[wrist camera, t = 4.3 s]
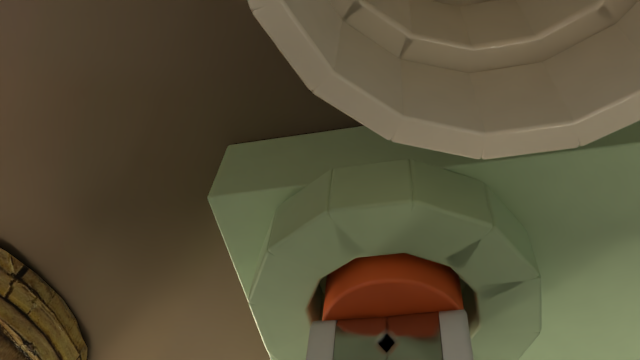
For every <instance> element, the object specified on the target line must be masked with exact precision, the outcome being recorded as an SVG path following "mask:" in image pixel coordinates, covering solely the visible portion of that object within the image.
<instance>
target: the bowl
mask: <svg viewBox="0 0 640 360" xmlns="http://www.w3.org/2000/svg"><path fill="white" fill-rule="evenodd" d="M247 1H248V5H249V8H250V9H251V10H253V11H252V13H253V16H254V17H255V18H256V20H257V21H258V22H259V24H260V25H261V26H262V28H263V29H264V30H265V32H266V33H267V34H268V36H269V37H270V38H271V40H272V41H273V42H274V44H275V45H276V46H277V48H278V49H279V50H280V52H281V53H282V54H283V56H284V57H285V58H286V60H287V61H288V62H289V64H290V65H291V66H292V68H293V69H294V70H295V72H296V73H297V74H298V76H299V77H300V78H301V80H302V81H303V82H304V84H305V85H306V86H307V88H308V89H309V90H310V91H312V92H313V94H314V95H316V96H318V97H319V98H321V99H322V100H324V101H326V102H327V103H329V104H330V105H332V106H334V107H335V108H337V109H338V110H340V111H342V112H343V113H345V114H346V115H348V116H350V117H351V118H353V119H355V120H356V121H358V122H359V123H361V124H363V125H364V126H366V127H367V128H369V129H371V130H372V131H374V132H375V133H377V134H379V135H380V136H382V137H383V138H385V139H387V140H391V141H392V142H395V143H400V144H405V145H410V146H415V147H420V148H425V149H430V150H435V151H440V152H445V153H449V154H454V155H459V156H464V157H469V158H474V159H480V158H482V159H493V158H501V157H509V156H517V155H524V154H532V153H540V152H548V151H556V150H564V149H571V148H577V147H578V146H579V145H580V146H584V145H587V144H589V143H591V142H593V141H595V140H598V139H600V138H602V137H604V136H607V135H609V134H611V133H613V132H615V131H618V130H620V129H622V128H624V127H627V126H629V125H631V124H633V123H635V122H638V121H640V0H247Z"/></svg>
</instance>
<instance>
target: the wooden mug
mask: <svg viewBox="0 0 640 360" xmlns="http://www.w3.org/2000/svg"><path fill="white" fill-rule="evenodd" d="M0 360H87V346H86V344H85V342H84V340H83V338H82V335H81V332H80V329H79V326H78V324H77V321H76V318H75V317H74V315H73V314H72V312H71V311H70V309H69V308H68V306H67V305H66V303H65V302H64V300H63V299H62V298H61V297H60V296H59V295H58V294H57V293H56V292H55V291H54V290H53V289H52V288H51V287H50V286H49V285H48V284H47V283H45V282H44V281H43V280H42V279H41V278H40V277H39V276H38V275H37V274H36V273H35V272H33V271H32V270H31V269H29V268H28V267H27V266H25V265H24V264H23V263H21V262H20V261H19V260H17V259H16V258H15V257H13V256H12V255H11V254H9V253H8V252H7V251H5V250H3V249H1V248H0Z"/></svg>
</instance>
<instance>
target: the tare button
mask: <svg viewBox="0 0 640 360" xmlns="http://www.w3.org/2000/svg"><path fill="white" fill-rule="evenodd" d="M462 309H464V306H463V299H462V293H461V286H460V279H459V275H458V274H457V273H456V272H455V271H454V270H453V269H452V268H451V267H449V266H446V265H443V264H439V263H436V262H433V261H430V260H426V259H423V258H420V257H417V256H413V255H410V254H407V253H399V254H389V255H379V256H369V257H359V258H355V259H353V260H352V261H350V262H348V263H347V264H345V265H343V266H342V267H340V268H338V269H337V270H335V271H333V272H332V273H330V274H328V275H327V280H326V289H325V298H324V308H323V317H322V321H325V320H338V319H354V318H373V317H388V316H393V315H404V314H415V313H426V312H437V311H438V314H439V311H451V310H462Z"/></svg>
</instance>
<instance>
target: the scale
mask: <svg viewBox="0 0 640 360" xmlns="http://www.w3.org/2000/svg"><path fill="white" fill-rule="evenodd" d="M207 199H208V201H209V204H210V206H211V209H212V212H213V214H214V217H215V219H216V222H217V224H218V227H219V229H220V232H221V234H222V237H223V239H224V242H225V245H226V247H227V250H228V252H229V255H230V257H231V260H232V262H233V265H234V267H235V270H236V272H237V275H238V278H239V280H240V283H241V285H242V288H243V290H244V293H245V295H246V298H247V300H248V304H249V307H250V310H251V312H252V315H253V317H254V320H255V322H256V325H257V327H258V330H259V332H260V335H261V338H262V340H263V343H264V345H265V348H266V350H267V351H268V354H269V356H270V359H271V360H306V354H307V346H308V339H309V331H310V327H311V325H312V322H313V321H322V317H323V308H324V298H325V289H326V280H327V275H328V274H330V273H332V272H333V271H335V270H337V269H338V268H340V267H342V266H343V265H345V264H347V263H348V262H350V261H352V260H353V259H355V258H359V257H369V256H379V255H389V254H399V253H407V254H410V255H413V256H417V257H420V258H423V259H426V260H430V261H433V262H436V263H439V264H443V265H446V266H449V267H451V268H452V269H453V270H454V271H455V272H456V273H457V274H458V275H459V279H460V286H461V293H462V299H463V306H464V309H465V311H466V313H467V318H468V325H469V331H470V338H471V344H472V351H473V357H474V360H640V121H638V122H635V123H633V124H631V125H629V126H627V127H624V128H622V129H620V130H618V131H615V132H613V133H611V134H609V135H607V136H604V137H602V138H600V139H598V140H595V141H593V142H591V143H589V144H587V145H584V146H580V145H579V146H578V147H577V148H571V149H564V150H556V151H548V152H540V153H532V154H524V155H517V156H509V157H501V158H493V159H482V158H480V159H474V158H469V157H464V156H459V155H454V154H449V153H445V152H440V151H435V150H430V149H425V148H420V147H415V146H410V145H405V144H400V143H395V142H392V141H391V140H387V139H385V138H383V137H382V136H380V135H379V134H377V133H375V132H374V131H372V130H371V129H369V128H367V127H366V126H360V127H353V128H346V129H339V130H332V131H325V132H318V133H311V134H304V135H297V136H290V137H283V138H276V139H269V140H262V141H255V142H248V143H241V144H234V145H229V146H228V147H227V149H226V152H225V154H224V157H223V159H222V162H221V164H220V167H219V169H218V172H217V174H216V177H215V179H214V182H213V184H212V187H211V189H210V192H209V194H208V197H207Z"/></svg>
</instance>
